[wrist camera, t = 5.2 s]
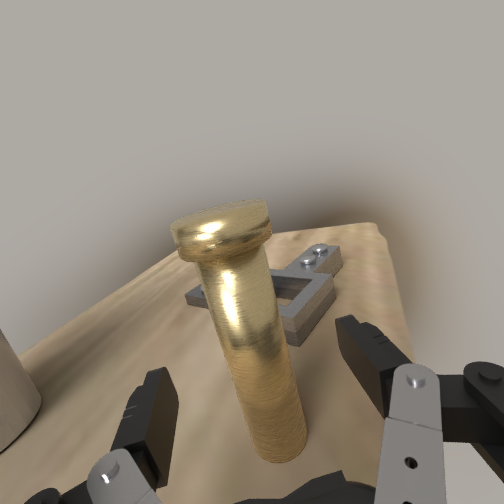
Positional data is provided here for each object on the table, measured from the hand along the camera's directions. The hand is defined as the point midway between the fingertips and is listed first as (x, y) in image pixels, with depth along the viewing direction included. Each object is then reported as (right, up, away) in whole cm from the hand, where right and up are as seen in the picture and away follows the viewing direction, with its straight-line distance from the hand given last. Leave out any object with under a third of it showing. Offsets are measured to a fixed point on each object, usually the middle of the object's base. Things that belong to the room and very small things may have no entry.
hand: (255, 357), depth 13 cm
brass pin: (+2, -7, +5) cm, 8 cm away
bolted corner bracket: (+2, 0, +24) cm, 24 cm away
